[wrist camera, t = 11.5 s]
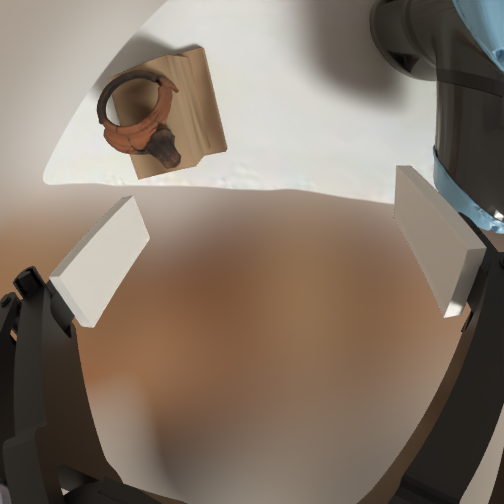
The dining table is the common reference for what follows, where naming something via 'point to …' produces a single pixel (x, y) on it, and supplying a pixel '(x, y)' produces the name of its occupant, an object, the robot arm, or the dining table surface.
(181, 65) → the stand
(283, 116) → the dining table surface
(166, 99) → the broken clay pot
